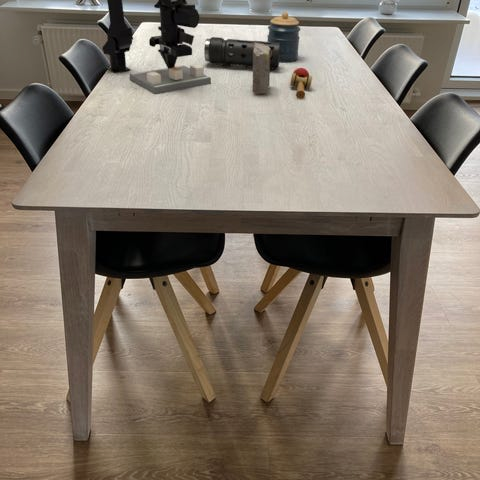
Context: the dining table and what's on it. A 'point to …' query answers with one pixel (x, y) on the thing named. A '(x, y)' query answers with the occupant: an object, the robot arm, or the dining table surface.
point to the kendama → (301, 81)
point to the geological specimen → (261, 68)
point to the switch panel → (170, 79)
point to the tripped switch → (175, 73)
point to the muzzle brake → (237, 52)
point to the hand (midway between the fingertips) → (171, 71)
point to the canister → (285, 36)
